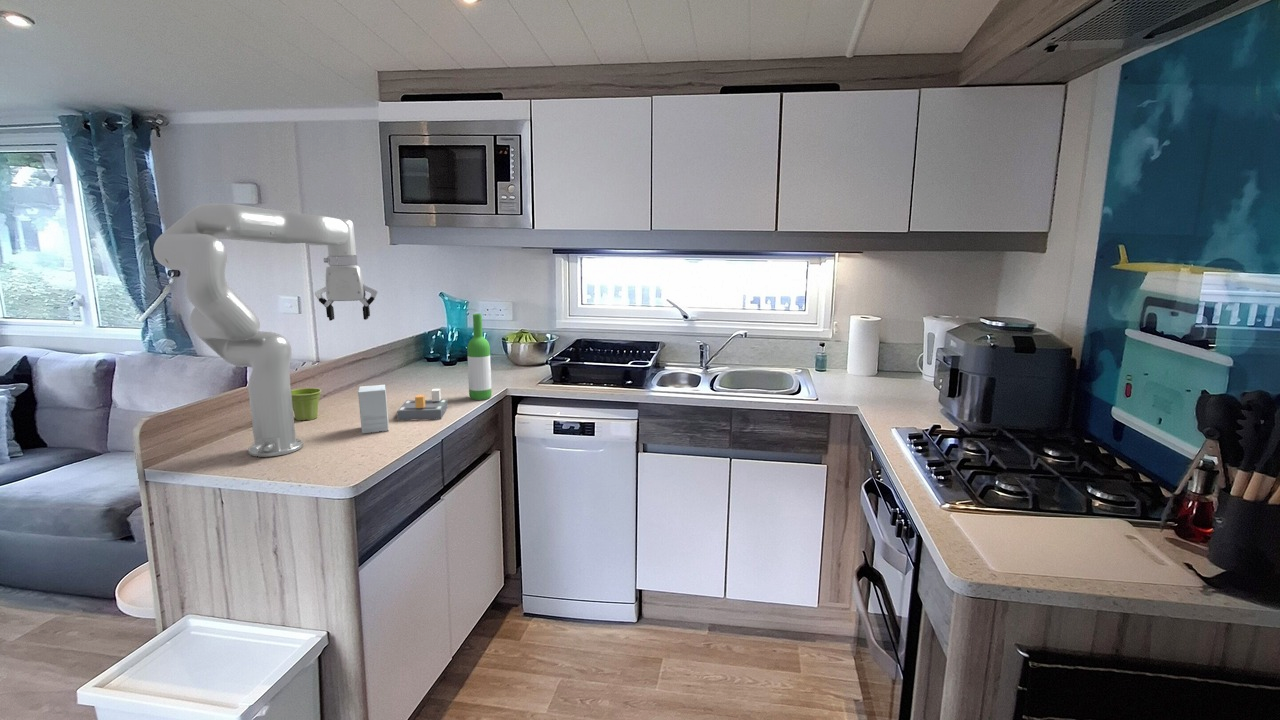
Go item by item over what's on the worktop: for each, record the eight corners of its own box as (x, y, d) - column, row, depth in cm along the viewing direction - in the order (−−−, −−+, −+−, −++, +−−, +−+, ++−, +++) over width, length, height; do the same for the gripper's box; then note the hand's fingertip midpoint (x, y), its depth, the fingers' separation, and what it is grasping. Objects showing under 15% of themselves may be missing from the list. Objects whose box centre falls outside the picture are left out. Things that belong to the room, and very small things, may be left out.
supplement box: (388, 424, 189) (386, 384, 186) (388, 431, 182) (385, 389, 180) (362, 426, 186) (359, 385, 184) (361, 434, 179) (357, 391, 177)
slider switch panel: (441, 419, 195) (440, 409, 194) (397, 420, 193) (397, 410, 192) (447, 408, 207) (447, 399, 207) (407, 409, 206) (406, 400, 205)
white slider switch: (439, 401, 203) (438, 390, 202) (431, 401, 202) (431, 390, 202) (441, 398, 205) (440, 388, 205) (433, 399, 205) (432, 388, 204)
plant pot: (307, 412, 200) (304, 386, 198) (330, 415, 197) (328, 389, 196) (282, 420, 191) (279, 393, 190) (306, 423, 188) (304, 396, 187)
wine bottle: (469, 401, 216) (466, 315, 210) (468, 396, 223) (465, 313, 218) (492, 399, 219) (489, 315, 213) (490, 394, 226) (487, 312, 220)
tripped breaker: (423, 407, 194) (422, 397, 194) (415, 408, 194) (414, 397, 193) (425, 405, 197) (424, 394, 197) (417, 405, 197) (416, 394, 196)
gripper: (307, 263, 177) (314, 322, 181) (371, 262, 180) (376, 320, 184) (315, 261, 184) (321, 318, 188) (377, 260, 188) (382, 316, 191)
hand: (349, 319), depth 186 cm, fingers open, 9 cm apart
